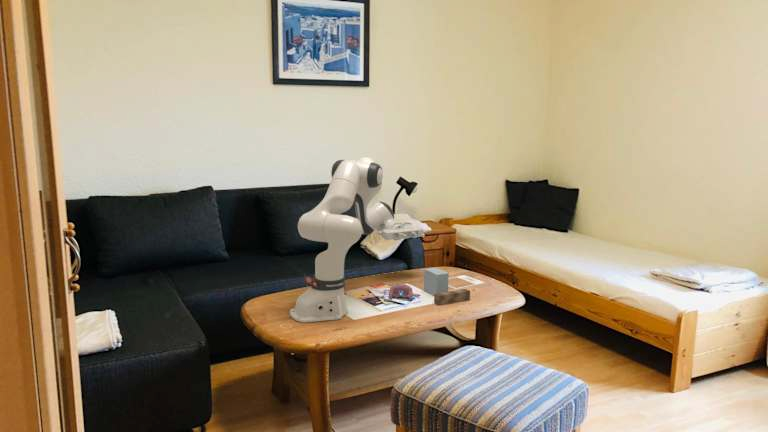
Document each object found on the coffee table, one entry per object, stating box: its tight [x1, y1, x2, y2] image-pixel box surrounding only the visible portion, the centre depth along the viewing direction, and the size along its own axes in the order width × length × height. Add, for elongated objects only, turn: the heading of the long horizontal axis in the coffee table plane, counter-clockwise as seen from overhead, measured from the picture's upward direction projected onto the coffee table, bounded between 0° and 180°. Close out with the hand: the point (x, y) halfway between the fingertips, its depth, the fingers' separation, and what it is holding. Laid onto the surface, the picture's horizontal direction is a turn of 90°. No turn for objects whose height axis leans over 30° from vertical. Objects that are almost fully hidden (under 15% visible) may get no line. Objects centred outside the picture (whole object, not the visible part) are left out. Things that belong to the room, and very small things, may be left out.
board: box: [433, 288, 471, 306], centre depth 239 cm, size 16×3×4 cm, turn 118°
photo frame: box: [448, 274, 487, 291], centre depth 265 cm, size 15×1×18 cm
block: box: [423, 267, 450, 297], centre depth 249 cm, size 6×10×10 cm, turn 28°
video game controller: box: [388, 283, 413, 301], centre depth 242 cm, size 10×5×7 cm, turn 84°
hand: (410, 236), depth 259 cm, fingers open, 3 cm apart
